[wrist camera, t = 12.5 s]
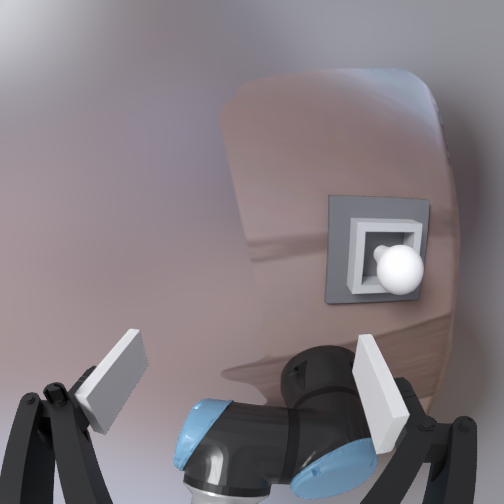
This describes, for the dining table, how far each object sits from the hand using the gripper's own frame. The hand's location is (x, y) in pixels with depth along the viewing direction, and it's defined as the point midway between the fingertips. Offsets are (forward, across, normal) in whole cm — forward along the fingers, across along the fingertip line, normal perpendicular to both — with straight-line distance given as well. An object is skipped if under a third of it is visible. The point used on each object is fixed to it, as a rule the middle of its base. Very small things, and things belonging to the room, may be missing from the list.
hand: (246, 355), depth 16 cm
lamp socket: (+27, -17, +1) cm, 32 cm away
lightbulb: (+26, -17, +1) cm, 31 cm away
